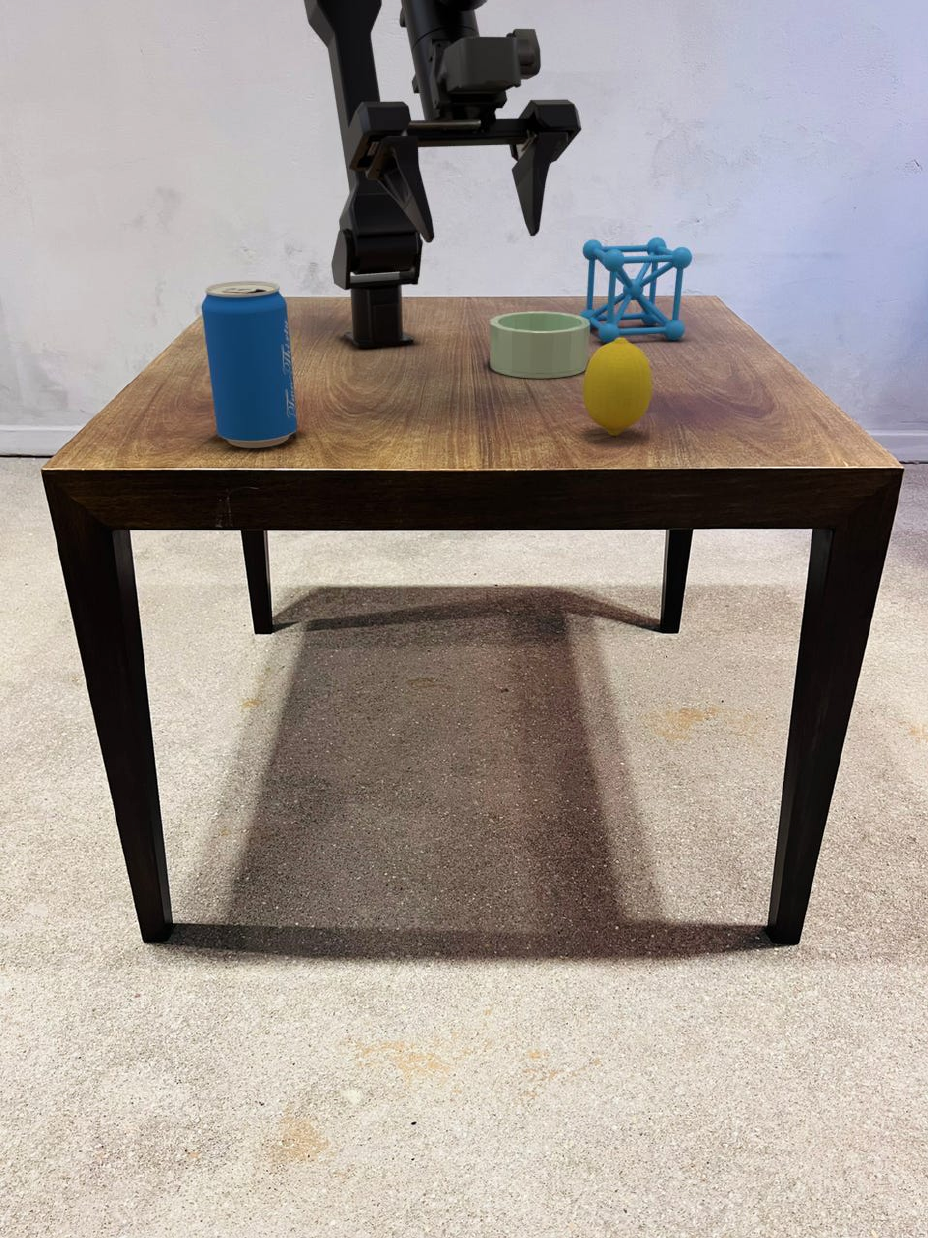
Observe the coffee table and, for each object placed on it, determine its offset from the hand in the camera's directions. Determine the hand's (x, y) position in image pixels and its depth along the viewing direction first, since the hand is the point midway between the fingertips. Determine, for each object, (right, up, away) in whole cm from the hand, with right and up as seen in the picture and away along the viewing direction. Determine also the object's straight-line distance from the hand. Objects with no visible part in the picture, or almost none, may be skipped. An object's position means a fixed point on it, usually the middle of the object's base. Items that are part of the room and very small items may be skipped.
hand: (483, 237), depth 80 cm
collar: (+6, -5, +22) cm, 23 cm away
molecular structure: (+18, +2, +34) cm, 39 cm away
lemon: (+11, -16, +2) cm, 19 cm away
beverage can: (-19, -16, +2) cm, 25 cm away
